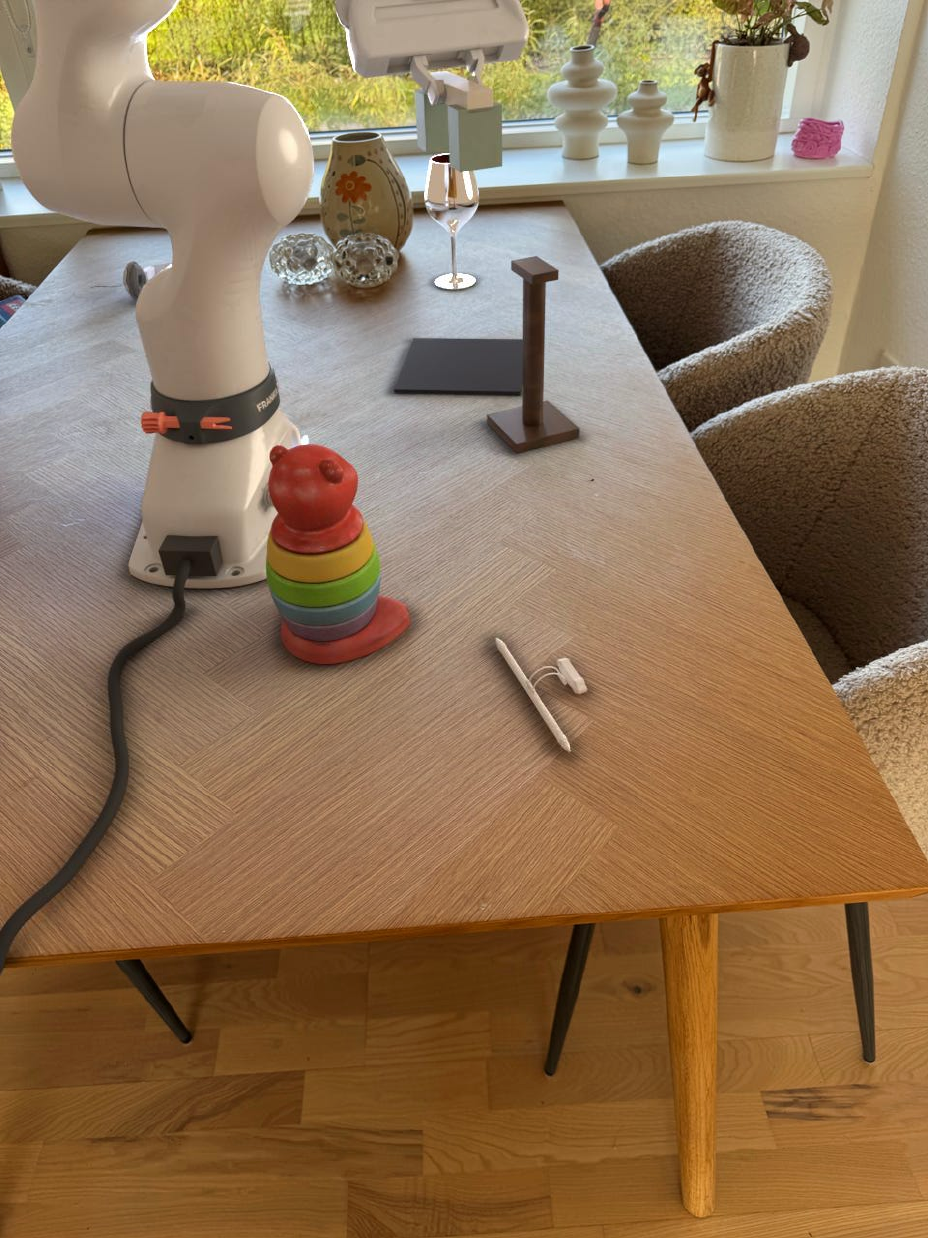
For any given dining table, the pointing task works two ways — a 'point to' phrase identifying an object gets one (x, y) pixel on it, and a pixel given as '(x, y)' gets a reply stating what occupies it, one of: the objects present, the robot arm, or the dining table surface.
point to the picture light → (567, 676)
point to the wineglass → (451, 209)
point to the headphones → (138, 277)
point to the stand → (533, 371)
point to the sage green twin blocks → (461, 124)
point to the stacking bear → (325, 560)
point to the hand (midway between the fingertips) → (458, 98)
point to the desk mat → (462, 367)
